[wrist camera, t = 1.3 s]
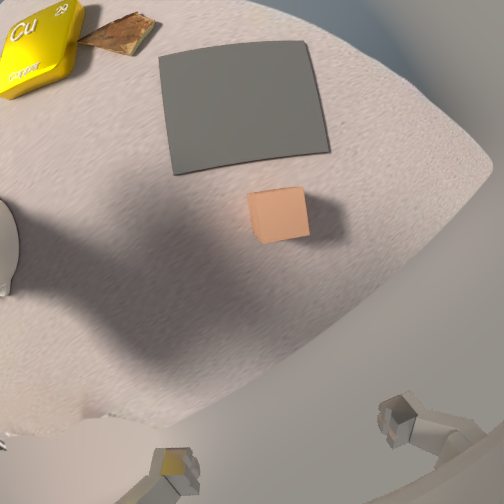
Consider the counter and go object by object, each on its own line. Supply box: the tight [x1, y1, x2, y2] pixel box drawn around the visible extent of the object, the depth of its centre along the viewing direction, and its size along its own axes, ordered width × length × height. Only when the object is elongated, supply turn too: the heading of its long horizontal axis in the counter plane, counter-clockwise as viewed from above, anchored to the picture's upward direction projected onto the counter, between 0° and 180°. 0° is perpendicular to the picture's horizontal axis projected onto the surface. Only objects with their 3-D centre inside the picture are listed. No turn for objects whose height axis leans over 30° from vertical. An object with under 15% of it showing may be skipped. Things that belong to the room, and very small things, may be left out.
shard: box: [77, 12, 155, 56], centre depth 28 cm, size 11×8×2 cm
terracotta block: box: [247, 187, 310, 244], centre depth 32 cm, size 5×5×8 cm
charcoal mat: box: [159, 41, 329, 175], centre depth 32 cm, size 20×17×1 cm
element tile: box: [0, 0, 85, 100], centre depth 24 cm, size 15×15×5 cm
